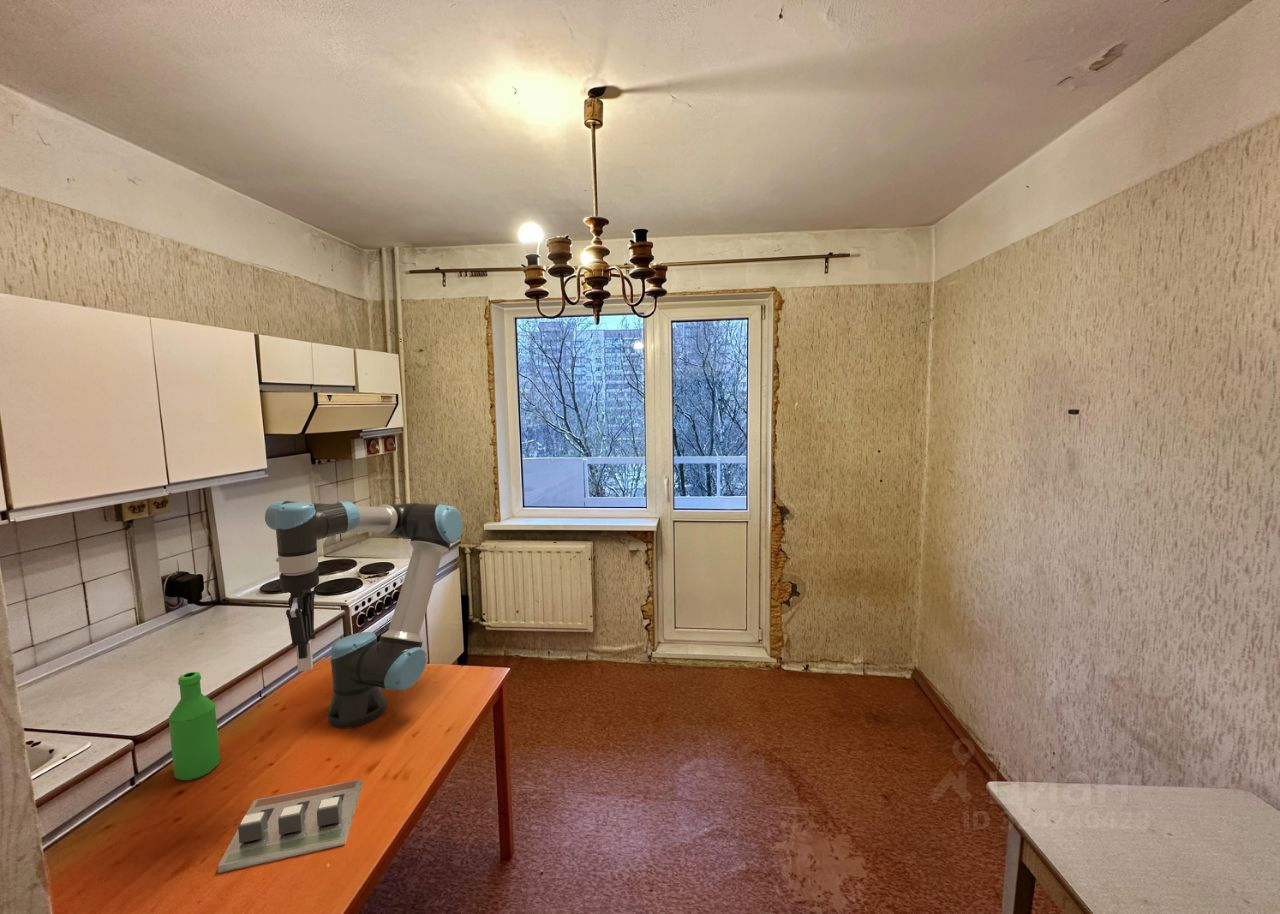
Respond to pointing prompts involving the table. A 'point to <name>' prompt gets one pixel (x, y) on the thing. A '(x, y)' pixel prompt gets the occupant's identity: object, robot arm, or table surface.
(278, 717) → the table surface
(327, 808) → the block
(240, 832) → the breaker
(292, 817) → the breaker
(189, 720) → the bottle
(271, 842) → the panel
